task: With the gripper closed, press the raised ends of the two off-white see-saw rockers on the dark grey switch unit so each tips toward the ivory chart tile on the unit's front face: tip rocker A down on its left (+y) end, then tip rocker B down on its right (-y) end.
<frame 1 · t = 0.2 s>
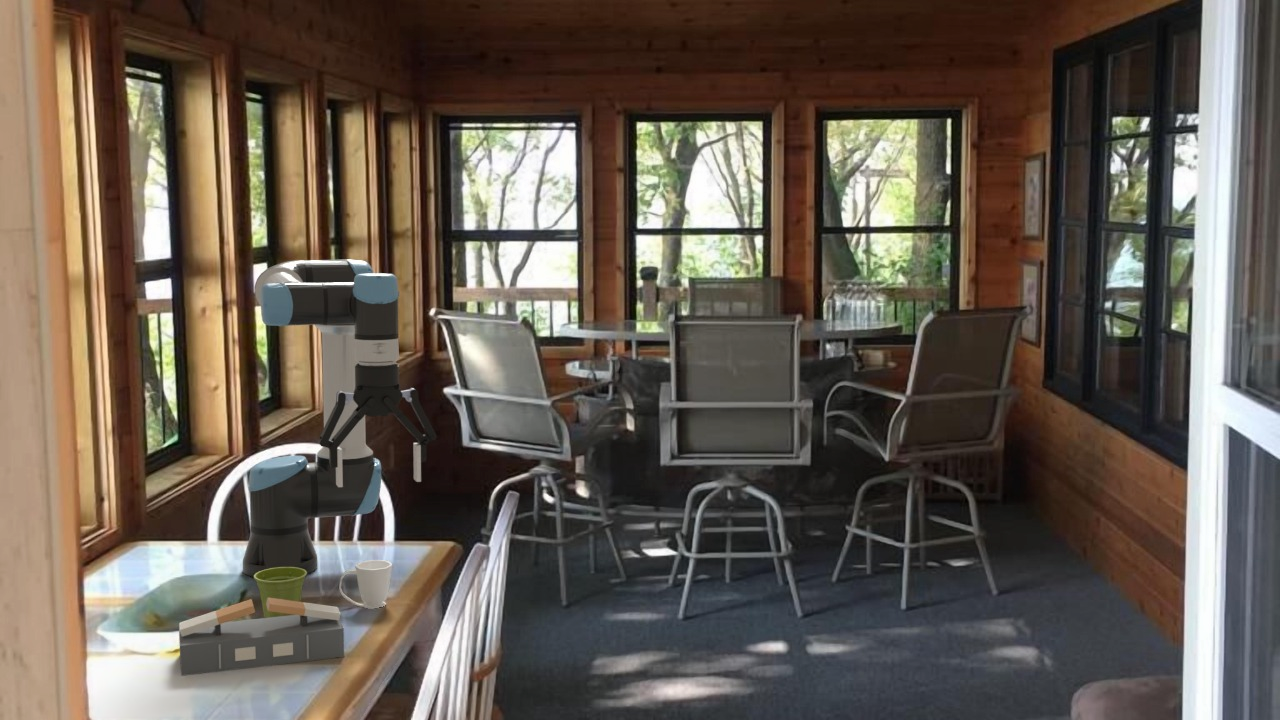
hand: (378, 483, 225), 28 cm above the table, fingers open, 13 cm apart
switch unit: (262, 656, 217), on the table
rocker B: (303, 608, 219), point 8 cm above the table, hinge at -14.0°
rocker A: (217, 617, 214), point 8 cm above the table, hinge at 14.0°
plant pot: (281, 620, 237), on the table
cup: (366, 606, 245), on the table
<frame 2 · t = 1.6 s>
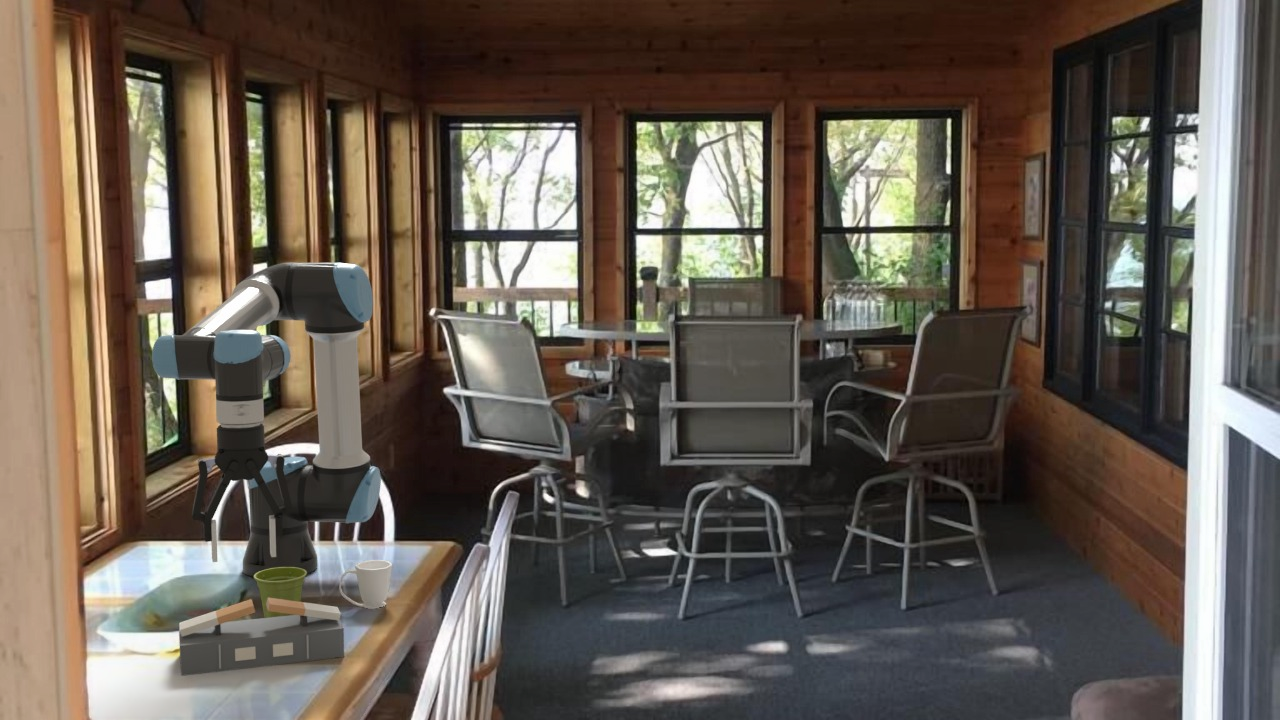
hand: (244, 557, 215), 17 cm above the table, fingers open, 9 cm apart
nothing on the table moved.
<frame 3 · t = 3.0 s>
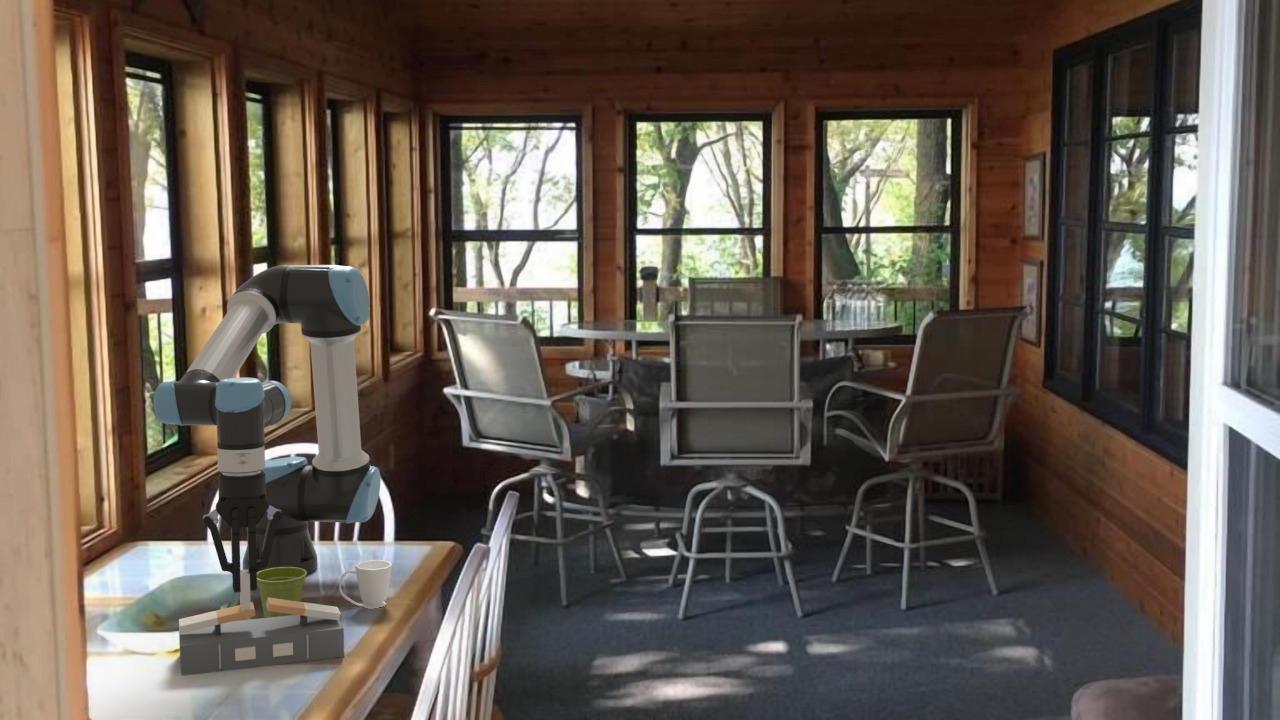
hand: (245, 609, 215), 8 cm above the table, fingers closed
rocker A: (217, 617, 214), point 8 cm above the table, hinge at 8.3°, touching gripper
everything else where it was.
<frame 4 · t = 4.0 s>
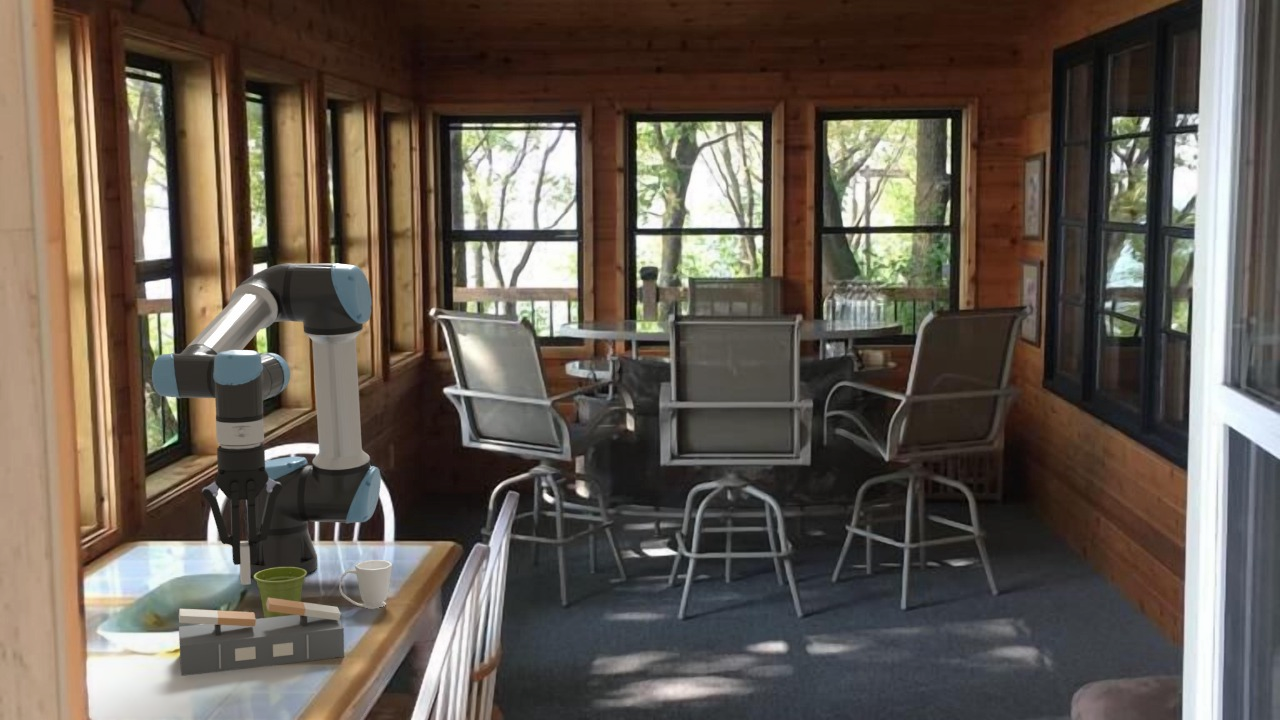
hand: (245, 582, 215), 13 cm above the table, fingers closed
rocker A: (217, 617, 214), point 8 cm above the table, hinge at -9.2°
everything else where it was.
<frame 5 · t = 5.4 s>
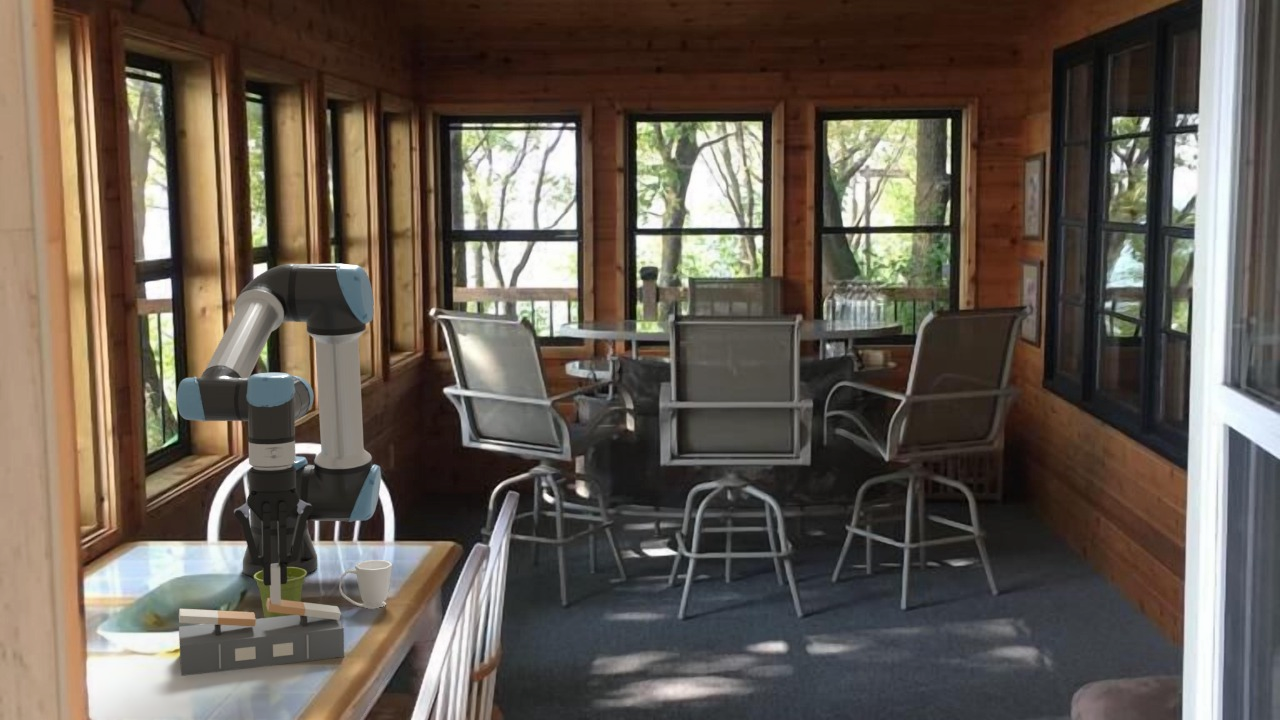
hand: (275, 602, 217), 9 cm above the table, fingers closed
rocker B: (303, 608, 219), point 8 cm above the table, hinge at -13.0°, touching gripper
everything else where it was.
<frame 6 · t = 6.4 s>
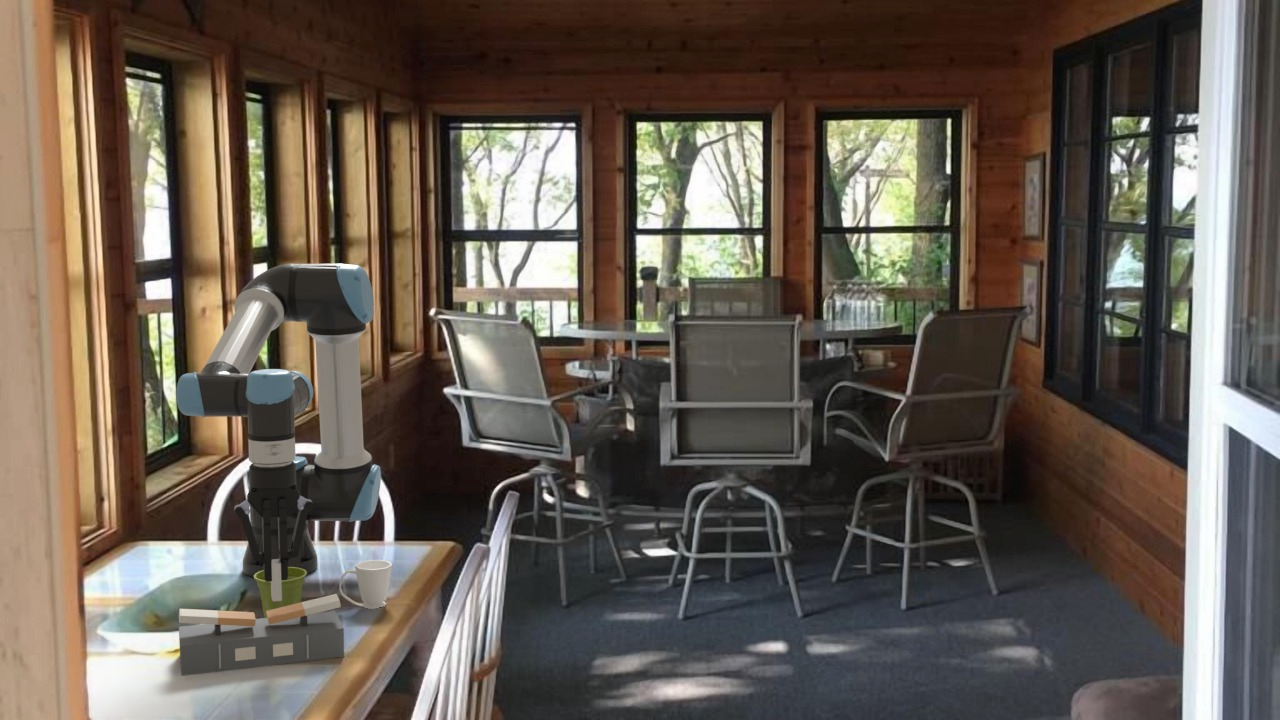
hand: (276, 598, 218), 10 cm above the table, fingers closed
rocker B: (303, 608, 219), point 8 cm above the table, hinge at 8.8°
everything else where it was.
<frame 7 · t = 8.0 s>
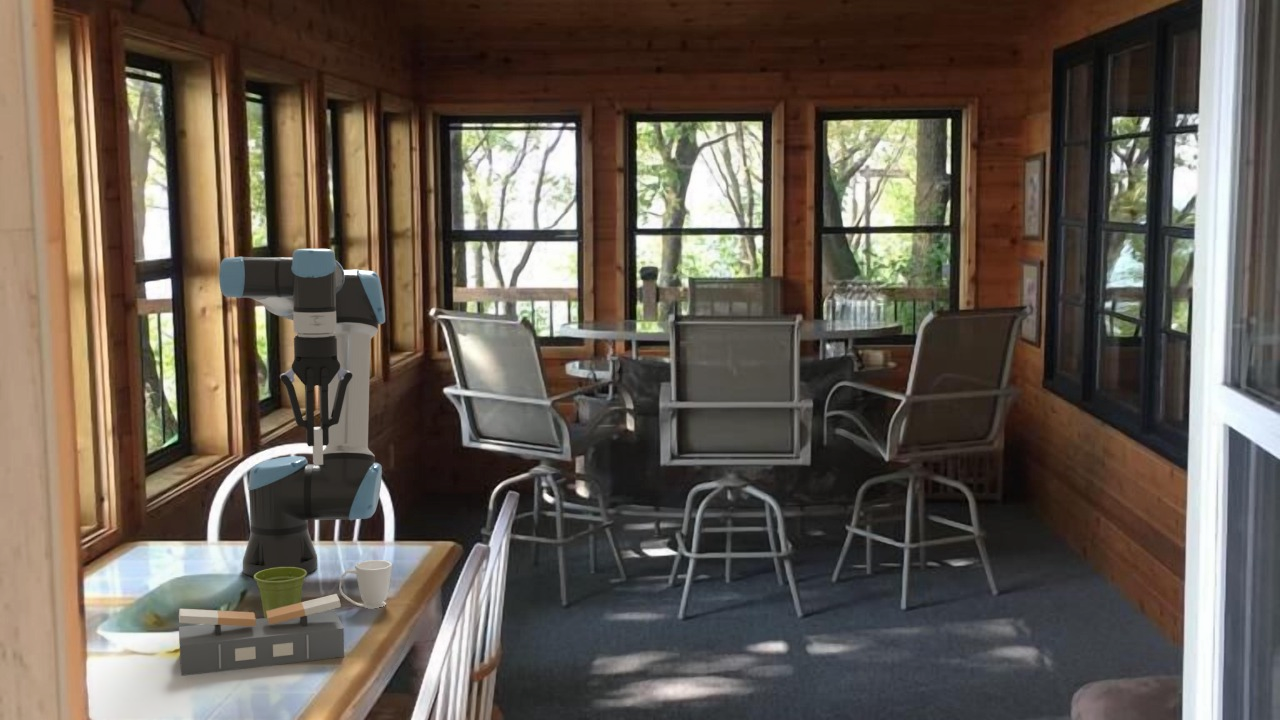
hand: (318, 463, 234), 29 cm above the table, fingers closed
nothing on the table moved.
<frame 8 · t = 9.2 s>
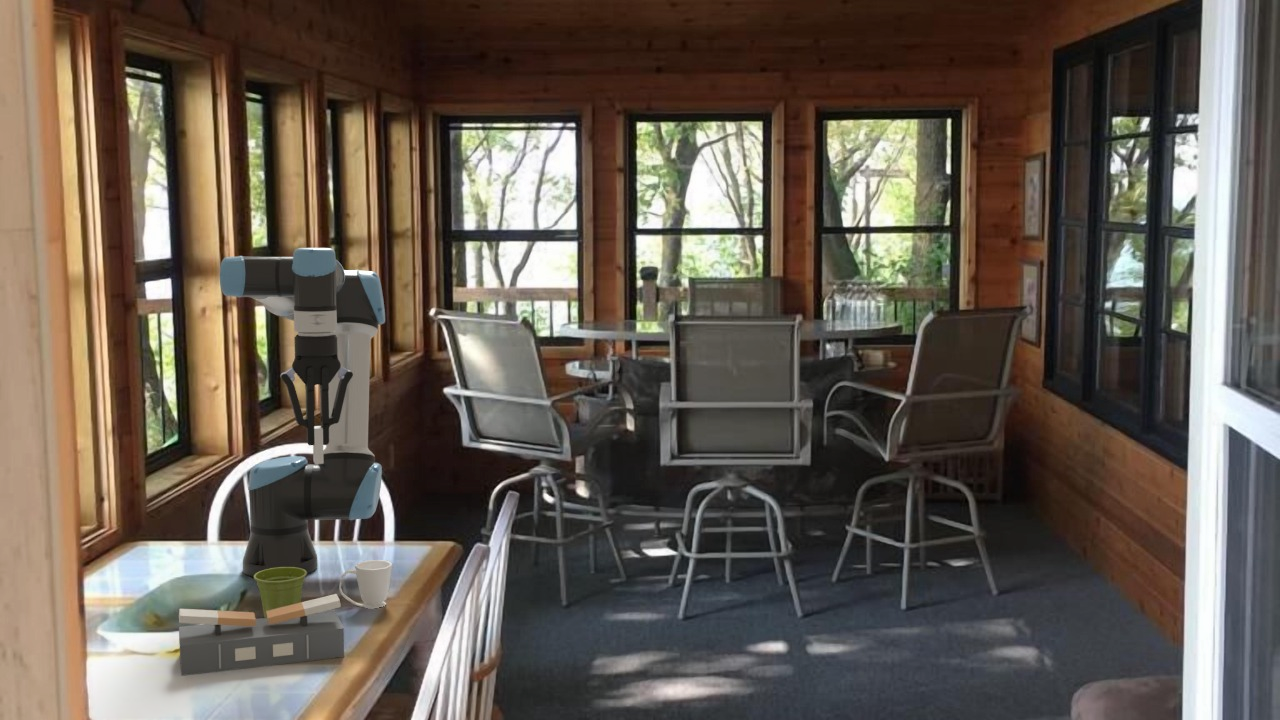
hand: (318, 462, 234), 29 cm above the table, fingers closed
nothing on the table moved.
at the end: rocker A at -9° (first picture: +14°); rocker B at +9° (first picture: -14°) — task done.
